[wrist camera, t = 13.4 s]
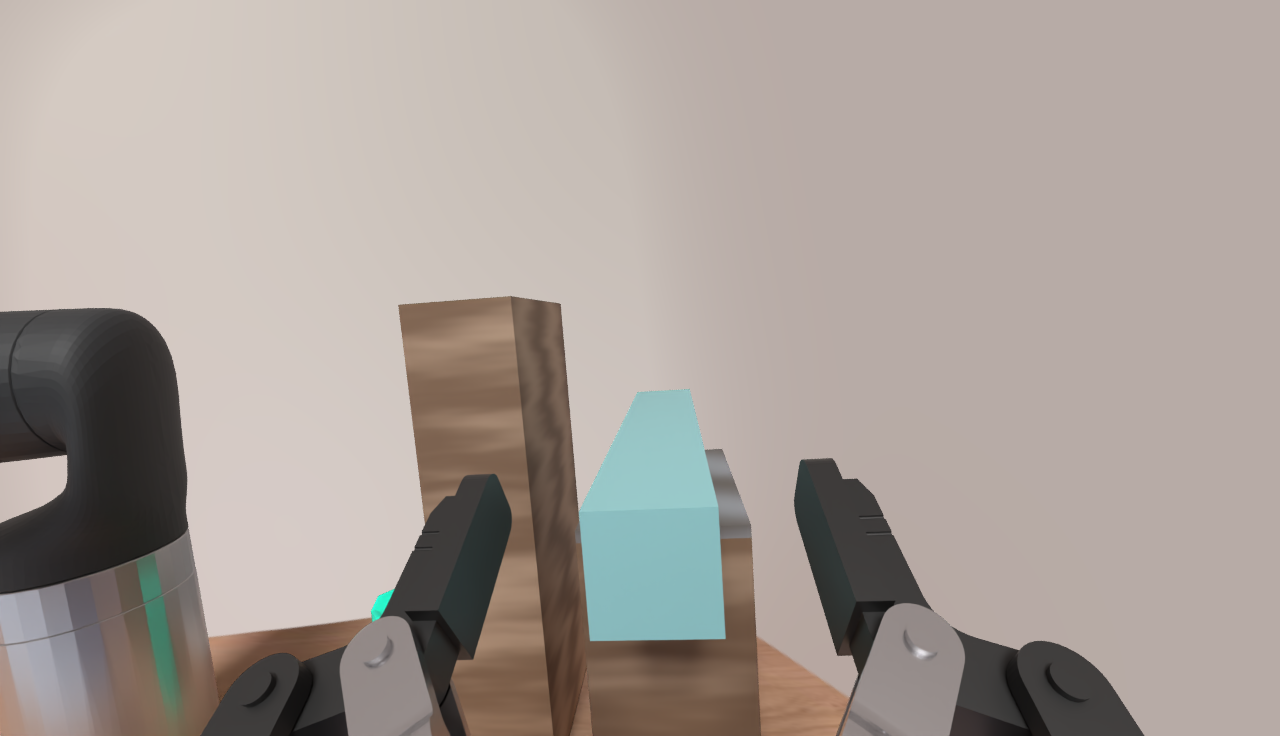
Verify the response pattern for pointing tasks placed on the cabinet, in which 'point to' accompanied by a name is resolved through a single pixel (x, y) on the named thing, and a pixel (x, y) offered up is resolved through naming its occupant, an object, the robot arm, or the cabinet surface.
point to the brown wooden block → (685, 652)
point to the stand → (534, 487)
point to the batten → (654, 529)
